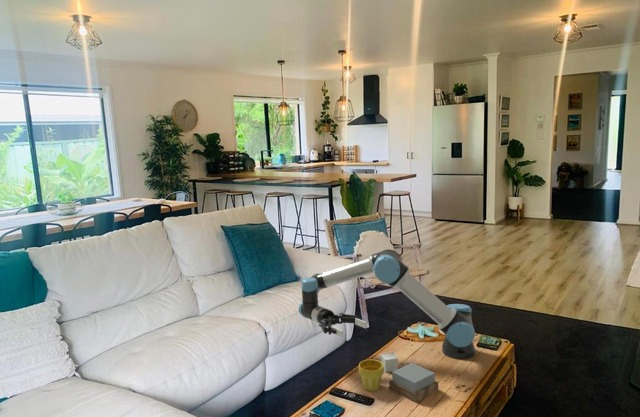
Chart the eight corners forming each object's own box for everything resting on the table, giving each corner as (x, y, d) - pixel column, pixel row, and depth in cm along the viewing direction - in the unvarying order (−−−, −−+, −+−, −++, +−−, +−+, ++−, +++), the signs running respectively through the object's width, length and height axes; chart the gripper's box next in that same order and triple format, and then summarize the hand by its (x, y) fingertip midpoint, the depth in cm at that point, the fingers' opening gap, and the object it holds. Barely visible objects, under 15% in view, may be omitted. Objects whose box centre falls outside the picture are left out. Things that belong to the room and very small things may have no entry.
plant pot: (383, 394, 185) (382, 371, 184) (357, 392, 187) (357, 370, 186) (385, 381, 195) (384, 359, 194) (360, 379, 197) (360, 358, 196)
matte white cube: (380, 366, 208) (380, 354, 208) (393, 364, 210) (393, 352, 209) (385, 372, 202) (385, 359, 202) (398, 370, 204) (397, 358, 203)
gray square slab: (412, 371, 195) (412, 362, 195) (434, 382, 186) (434, 373, 185) (392, 381, 188) (392, 371, 188) (414, 392, 179) (414, 383, 178)
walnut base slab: (411, 378, 197) (411, 370, 197) (438, 391, 186) (438, 382, 186) (389, 390, 189) (389, 381, 188) (415, 404, 178) (415, 394, 177)
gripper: (343, 317, 220) (375, 329, 204) (301, 331, 205) (332, 346, 188) (343, 302, 219) (374, 313, 203) (301, 315, 204) (331, 329, 188)
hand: (354, 329), depth 196 cm, fingers open, 13 cm apart
